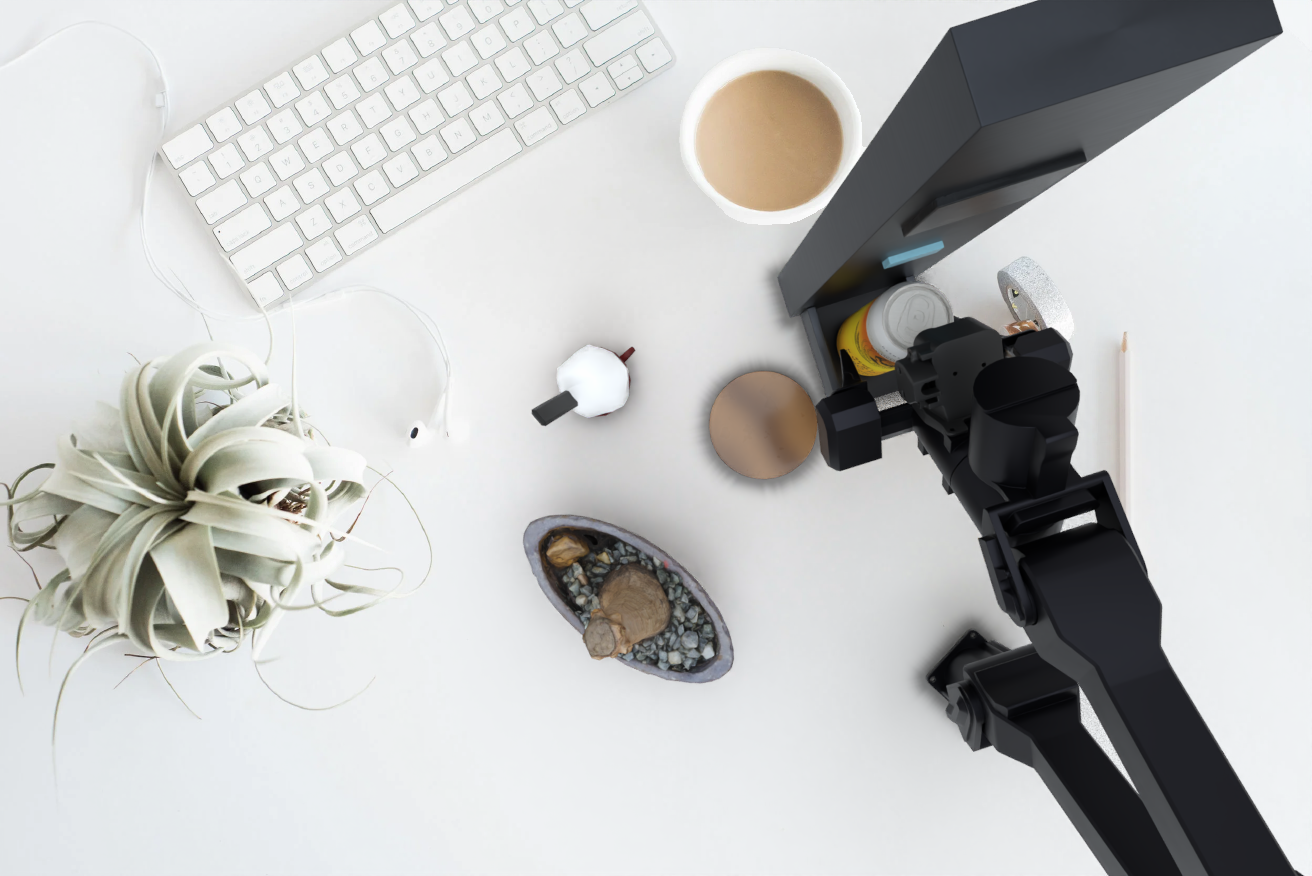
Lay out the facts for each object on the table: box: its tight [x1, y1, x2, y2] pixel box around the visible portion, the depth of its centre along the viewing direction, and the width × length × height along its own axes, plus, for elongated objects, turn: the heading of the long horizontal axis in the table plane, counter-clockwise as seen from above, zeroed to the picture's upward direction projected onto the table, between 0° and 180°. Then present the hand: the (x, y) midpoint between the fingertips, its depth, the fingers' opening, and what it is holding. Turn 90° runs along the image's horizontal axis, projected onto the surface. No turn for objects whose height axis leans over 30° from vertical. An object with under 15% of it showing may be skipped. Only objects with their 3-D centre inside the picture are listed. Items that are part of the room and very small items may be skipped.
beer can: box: [837, 280, 955, 376], centre depth 69 cm, size 6×6×15 cm
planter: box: [522, 514, 735, 684], centre depth 67 cm, size 15×17×20 cm
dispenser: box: [776, 0, 1284, 399], centre depth 54 cm, size 14×12×46 cm
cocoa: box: [531, 344, 637, 427], centre depth 71 cm, size 10×6×12 cm, turn 109°
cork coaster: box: [708, 370, 818, 480], centre depth 77 cm, size 10×10×1 cm
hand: (895, 336), depth 68 cm, fingers open, 9 cm apart
